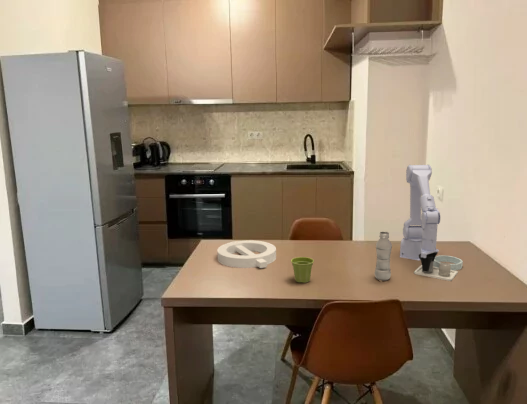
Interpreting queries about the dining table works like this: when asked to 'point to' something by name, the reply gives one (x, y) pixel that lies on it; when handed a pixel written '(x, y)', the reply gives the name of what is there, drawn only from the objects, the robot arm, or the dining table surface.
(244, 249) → the white circle with bar
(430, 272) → the slate capsule
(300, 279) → the plant pot
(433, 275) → the parts tray
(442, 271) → the grey rounded cylinder
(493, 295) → the dining table surface
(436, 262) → the bowl
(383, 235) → the plastic bottle
